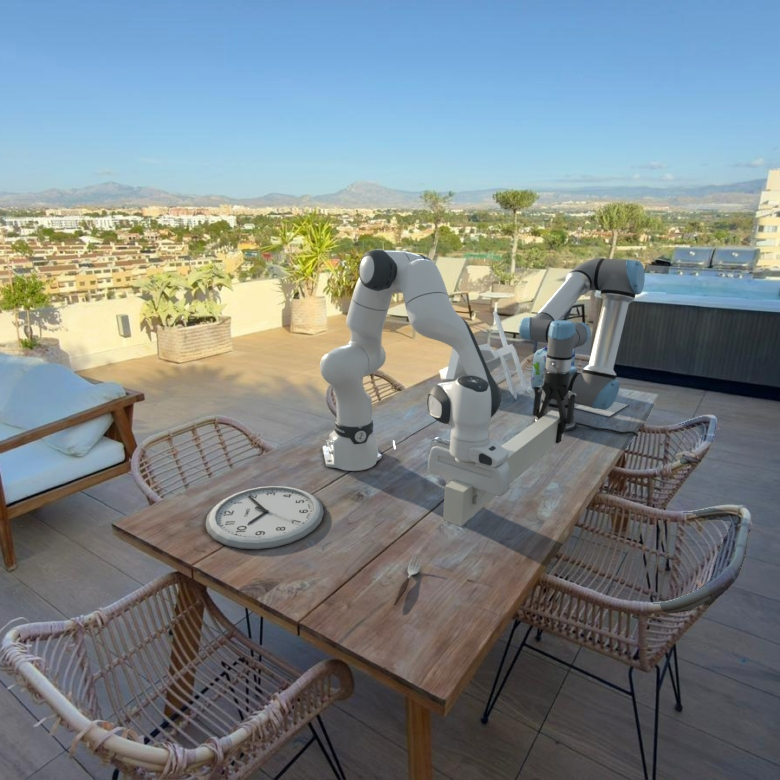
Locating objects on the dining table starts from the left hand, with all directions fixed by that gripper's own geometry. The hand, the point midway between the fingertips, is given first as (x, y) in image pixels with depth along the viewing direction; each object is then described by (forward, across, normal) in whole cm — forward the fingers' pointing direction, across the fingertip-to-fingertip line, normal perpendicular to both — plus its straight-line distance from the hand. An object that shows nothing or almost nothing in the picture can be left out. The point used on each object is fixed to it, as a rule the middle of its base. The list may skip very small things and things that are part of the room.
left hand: (465, 499), depth 125 cm
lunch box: (+12, -29, +138) cm, 142 cm away
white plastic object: (+12, -53, +111) cm, 123 cm away
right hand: (+4, 0, +58) cm, 58 cm away
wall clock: (+11, -46, -22) cm, 52 cm away
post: (+4, 0, +29) cm, 29 cm away
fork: (+11, -1, -22) cm, 25 cm away
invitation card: (+12, -3, +126) cm, 127 cm away
